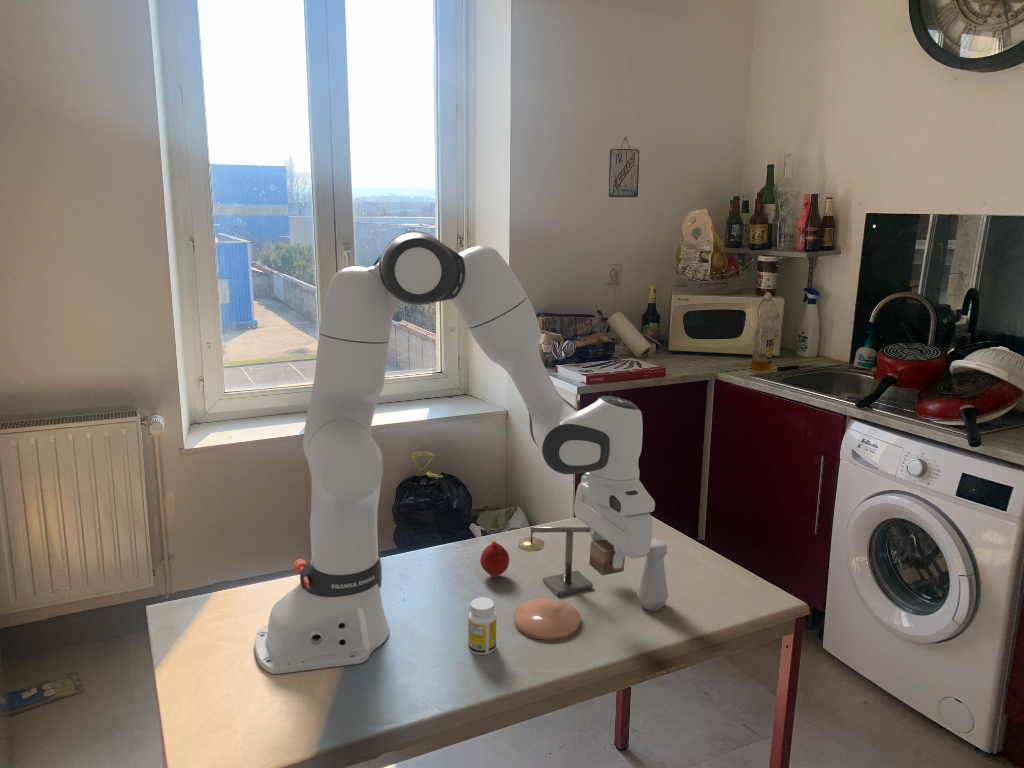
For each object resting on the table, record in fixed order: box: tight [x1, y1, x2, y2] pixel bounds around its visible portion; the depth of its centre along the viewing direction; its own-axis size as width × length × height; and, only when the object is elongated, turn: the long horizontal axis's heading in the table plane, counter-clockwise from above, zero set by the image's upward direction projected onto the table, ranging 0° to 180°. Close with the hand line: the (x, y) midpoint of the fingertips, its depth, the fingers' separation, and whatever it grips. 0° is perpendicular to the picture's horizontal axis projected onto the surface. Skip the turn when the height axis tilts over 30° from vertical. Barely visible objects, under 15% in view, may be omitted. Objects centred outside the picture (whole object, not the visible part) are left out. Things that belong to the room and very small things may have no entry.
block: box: [588, 539, 626, 576], centre depth 133 cm, size 4×4×4 cm
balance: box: [517, 526, 604, 597], centre depth 145 cm, size 22×6×14 cm, turn 115°
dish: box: [513, 597, 581, 641], centre depth 134 cm, size 12×12×1 cm
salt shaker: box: [636, 539, 669, 612], centre depth 139 cm, size 6×6×13 cm
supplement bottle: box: [467, 596, 497, 656], centre depth 125 cm, size 5×5×8 cm
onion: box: [479, 539, 510, 578], centre depth 149 cm, size 6×6×8 cm
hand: (606, 559), depth 133 cm, fingers closed on block, 4 cm apart
